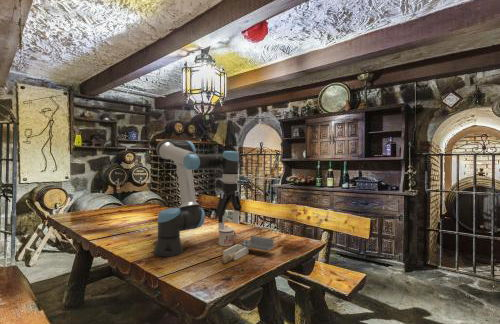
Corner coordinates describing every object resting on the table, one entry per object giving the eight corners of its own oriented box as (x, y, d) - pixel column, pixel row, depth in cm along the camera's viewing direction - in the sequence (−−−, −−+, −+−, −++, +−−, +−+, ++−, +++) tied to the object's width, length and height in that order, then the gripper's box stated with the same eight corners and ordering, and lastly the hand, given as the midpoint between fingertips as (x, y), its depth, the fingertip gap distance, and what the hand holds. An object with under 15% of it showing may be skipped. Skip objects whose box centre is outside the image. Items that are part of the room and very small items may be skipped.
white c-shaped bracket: (223, 257, 145) (223, 250, 145) (240, 248, 160) (240, 242, 160) (235, 260, 141) (235, 253, 141) (251, 251, 156) (251, 244, 156)
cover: (267, 250, 145) (267, 243, 145) (238, 245, 154) (238, 237, 154) (274, 246, 152) (274, 239, 152) (246, 241, 161) (246, 234, 161)
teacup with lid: (224, 247, 161) (225, 227, 161) (215, 244, 167) (215, 225, 167) (239, 243, 170) (240, 224, 169) (230, 240, 176) (230, 222, 176)
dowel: (223, 265, 137) (227, 261, 136) (219, 260, 138) (223, 256, 137) (233, 259, 144) (237, 255, 143) (229, 255, 146) (233, 251, 145)
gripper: (222, 185, 121) (221, 233, 122) (248, 181, 143) (247, 222, 144) (208, 184, 125) (207, 230, 125) (236, 180, 147) (235, 220, 147)
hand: (228, 226), depth 134 cm, fingers open, 13 cm apart
